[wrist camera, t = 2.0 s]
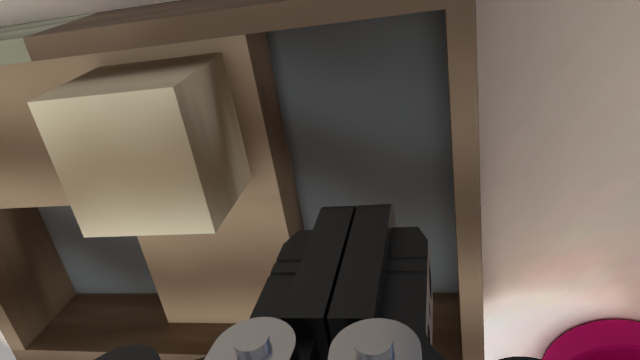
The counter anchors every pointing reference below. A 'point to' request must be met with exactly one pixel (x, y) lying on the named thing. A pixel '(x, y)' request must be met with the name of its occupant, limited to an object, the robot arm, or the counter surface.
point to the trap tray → (264, 162)
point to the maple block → (146, 146)
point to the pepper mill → (598, 342)
